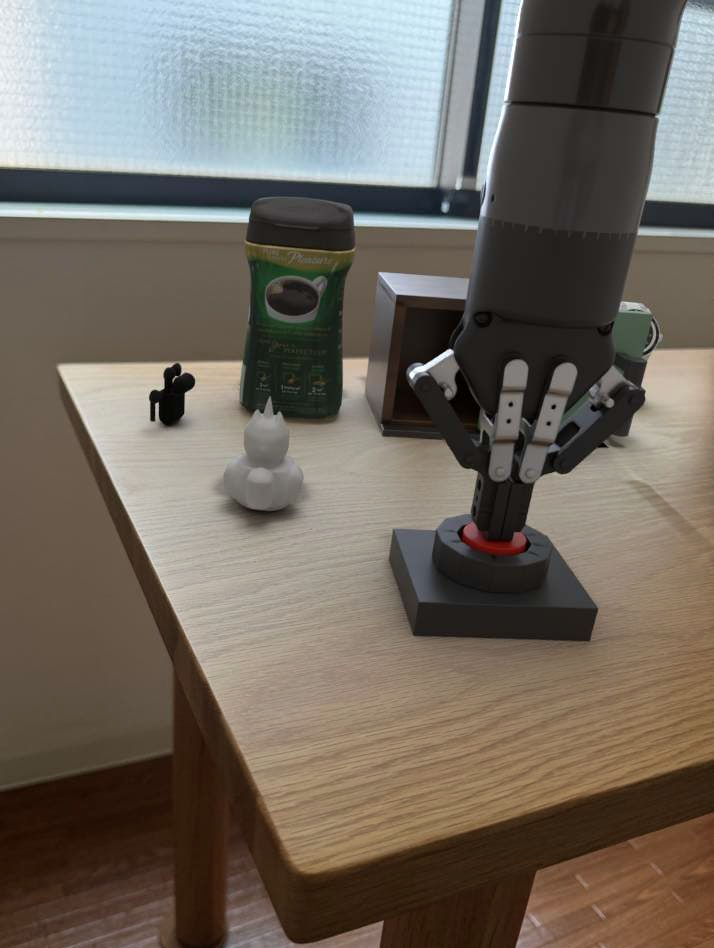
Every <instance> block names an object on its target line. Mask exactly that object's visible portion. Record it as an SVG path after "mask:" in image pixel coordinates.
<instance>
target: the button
mask: <svg viewBox="0 0 714 948" xmlns="http://www.w3.org/2000/svg"><path fill="white" fill-rule="evenodd" d="M461 542H463V543H465V544H466V545H468V546H470V547H471V548H473V549H475V550H478V551H482V552H485V553H489V554H493V555H509V556H514V555H517V554H521V553H524V550H525V545H526V538H525V536H524V535H523V534H522V533H521V532H514V536H513V539H512V541H511V542H508V541H486V540H485V539H484V537H483V535H482V533H481V532H480V531H478V529H477V527H476V525H475V523H470V524H468V525H467V526H465V528H464V530H463V535H462V541H461Z"/></svg>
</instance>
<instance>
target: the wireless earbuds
mask: <svg viewBox="0 0 714 948" xmlns="http://www.w3.org/2000/svg"><path fill="white" fill-rule="evenodd" d="M182 371H183V369H182V365H181V364H180V362H176V363H173V364H172V366H167V367H166V368H165V369H164V371H163V373H162V376H163V382H164V383H163V388H162V389H160V390H158V389H152V390H151V391H150V393H149V395H148V401H149V421H150V422H151V423H155V422H156V404H158V420H159V422H160V423H161V424H163V425H165V426H170V425H172V424H174V423H176V422H178V421H179V420H180V419H182V418H183V417H184V415H185V412H186V411H185V408H186V407H185V406H186V393H188V392H189V391H191V390H192V389H194V388H195V386H196V378H195V376H194V375H193V374H192V373H189V372H184V373H182Z"/></svg>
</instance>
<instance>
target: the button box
mask: <svg viewBox="0 0 714 948" xmlns="http://www.w3.org/2000/svg"><path fill="white" fill-rule="evenodd" d="M470 523H474V522H473V520H472V516H471V513H463V514H459V515H455V516H451V517H446V518H445V519H444V520H443V521H442V522H441V523H440V524H439V526H438V527H437V528H436V529H415V528H414V529H413V528H392V531H391V532H392V533H391V540H390V547H389V554H388V561H389V563H390V567H391V570H392V573H393V576H394V579H395V583H396V585H397V588H398V592H399V595H400V598H401V601H402V604H403V607H404V610H405V613H406V616H407V620H408V623H409V627H410V630H411V633H412V636H414V637H435V638H436V637H439V638H464V639H465V638H466V639H468V638H469V639H471V638H472V639H495V640H496V639H497V640H498V639H500V640H502V639H503V640H528V641H529V640H533V641H562V642H564V641H565V642H591V638H592V634H593V631H594V627H595V623H596V621H597V620H596V619H597V616H598V613H599V607H598V606H597V604H596V603H595V601H594V600H593V599H592V596H591V595H590V594H589V593H588V591H587V590H586V589H585V587H584V586H583V584H582V583H581V581H580V580H579V578H578V577H577V576H576V574H575V572H574V571H573V570H572V568H571V567H570V566H569V565H568V563H567V562H566V560H565V559H564V557H563V556H562V555H561V553H560V552H559V550H558V549H557V548H556V546H555V545H554V543H553V542H552V540H551V539H550V538H549V536H548V535H547V534H544V533H543V532H541V531H539V530H537V529H535V528H534V527H532V526H530V525H528V524H527V523H526V524H525V526H524V528H523V529H522V531H521V533H522V534H523V535H524V536H525V538H526V545H525V550H524V553H521V554H517V555H514V556H509V555H493V554H489V553H485V552H482V551H478V550H475V549H473V548H471V547H470V546H468V545H466V544H465V543H463V542H461V541H462V535H463V530H464V528H465V526H467V525H468V524H470Z"/></svg>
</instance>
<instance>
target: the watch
mask: <svg viewBox="0 0 714 948" xmlns="http://www.w3.org/2000/svg"><path fill="white" fill-rule="evenodd" d="M619 310H628V311H642V312H649V313H651V314H652V312H651V311H650V309H649V308H648V307H646V306H645V304H643V303H641V302H631V301H622V300H621V304H620V308H619ZM660 331H661V330H660V326H659V323H658V321H657V320H656V318H655V317H654V316H653V317H652V321H651V325H650V329H649V333H648V337H647V341H646V344H645V348H644V352H643V356H642V359H645V360H647V361H649V359H650V357H651V355H652V353H653V352H654V351H655V349H656V348H657V346H658V345H659V343H662V341H663V337H664V336H663V333H661V332H660ZM640 390H641V391H643V393H644V394H645V395H646V391H647V390H646V389H645V388H644V387H642V386H641V389H640Z"/></svg>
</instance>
